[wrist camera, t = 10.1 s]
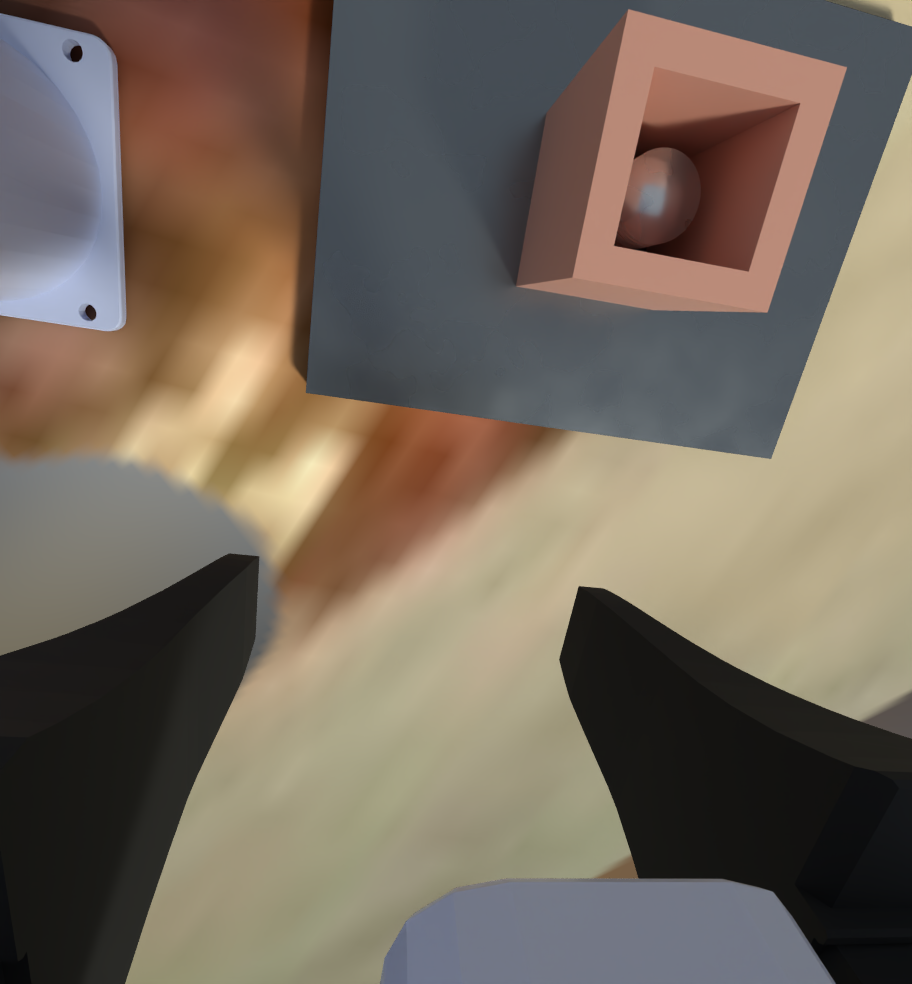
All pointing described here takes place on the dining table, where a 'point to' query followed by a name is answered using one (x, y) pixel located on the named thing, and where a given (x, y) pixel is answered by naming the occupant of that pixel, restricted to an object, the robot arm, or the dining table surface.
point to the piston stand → (505, 208)
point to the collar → (703, 139)
